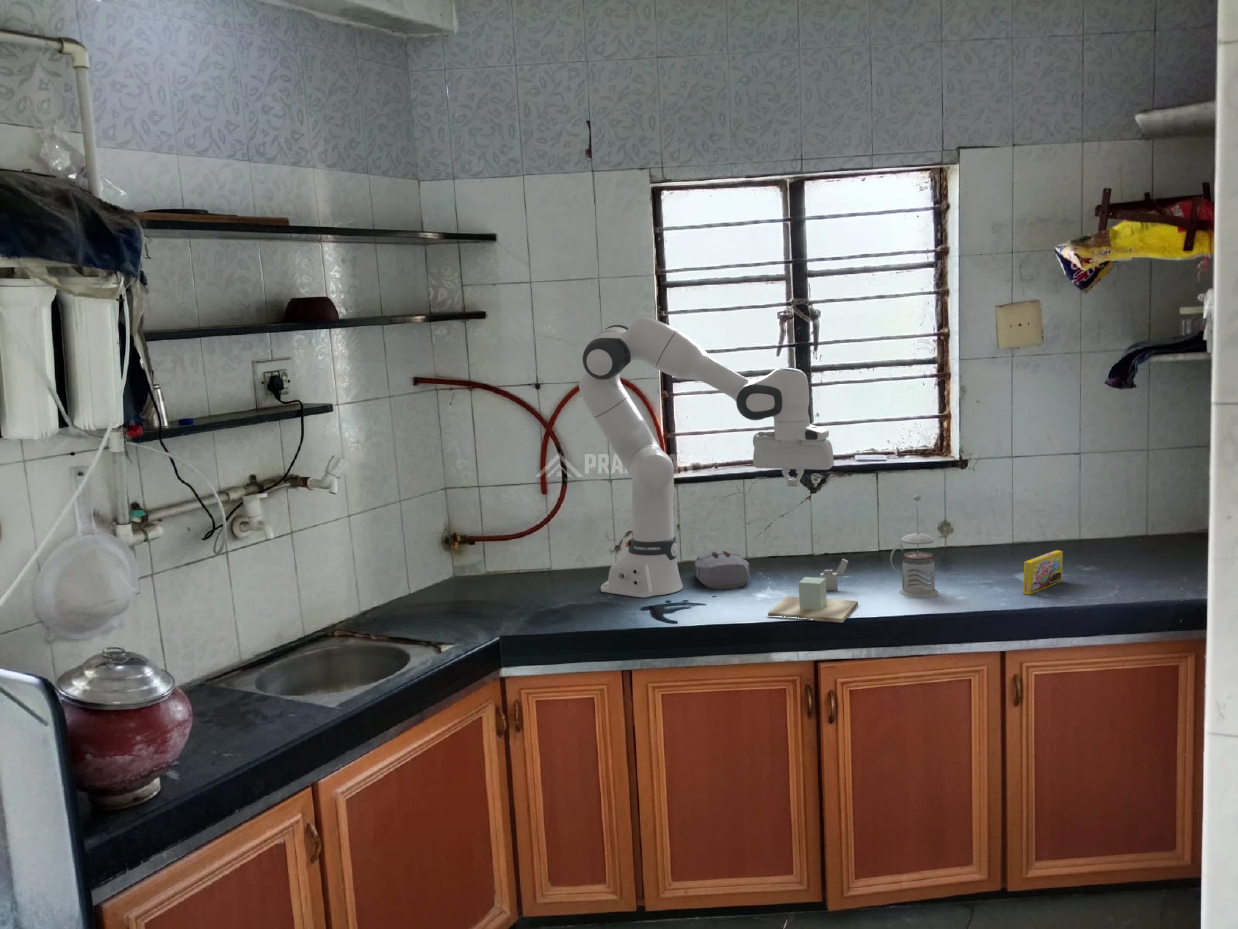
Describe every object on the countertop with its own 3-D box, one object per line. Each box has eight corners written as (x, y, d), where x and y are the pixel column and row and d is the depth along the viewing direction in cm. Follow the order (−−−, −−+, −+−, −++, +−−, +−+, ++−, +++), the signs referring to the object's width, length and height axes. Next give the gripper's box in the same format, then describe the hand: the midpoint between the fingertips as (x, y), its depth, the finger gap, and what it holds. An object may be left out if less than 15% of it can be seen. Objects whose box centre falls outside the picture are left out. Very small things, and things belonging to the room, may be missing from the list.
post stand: (768, 616, 237) (767, 592, 236) (786, 599, 250) (786, 576, 250) (842, 622, 229) (841, 597, 228) (858, 605, 242) (857, 581, 241)
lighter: (821, 591, 257) (820, 561, 255) (820, 589, 258) (819, 559, 257) (849, 589, 256) (848, 559, 255) (848, 588, 258) (847, 558, 257)
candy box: (1030, 596, 241) (1030, 562, 240) (1022, 594, 243) (1022, 561, 242) (1063, 582, 252) (1063, 550, 250) (1055, 580, 253) (1055, 549, 252)
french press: (941, 597, 244) (939, 498, 241) (892, 598, 246) (890, 499, 243) (937, 587, 253) (935, 491, 250) (890, 587, 256) (887, 492, 252)
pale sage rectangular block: (799, 609, 238) (798, 582, 238) (805, 603, 243) (804, 577, 242) (820, 610, 236) (819, 583, 235) (826, 604, 241) (825, 578, 240)
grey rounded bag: (756, 587, 265) (739, 570, 284) (754, 557, 263) (738, 541, 283) (700, 592, 263) (687, 574, 283) (699, 561, 262) (686, 545, 282)
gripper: (748, 433, 250) (750, 486, 252) (828, 433, 241) (829, 489, 243) (756, 430, 256) (758, 483, 258) (835, 430, 246) (835, 485, 248)
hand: (793, 486), depth 250 cm, fingers closed
